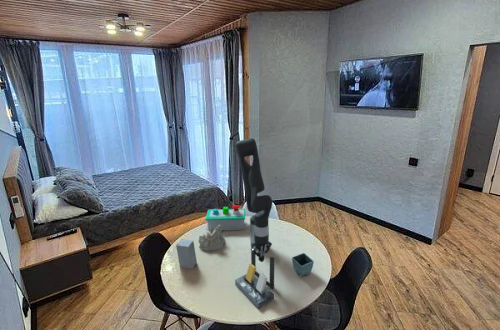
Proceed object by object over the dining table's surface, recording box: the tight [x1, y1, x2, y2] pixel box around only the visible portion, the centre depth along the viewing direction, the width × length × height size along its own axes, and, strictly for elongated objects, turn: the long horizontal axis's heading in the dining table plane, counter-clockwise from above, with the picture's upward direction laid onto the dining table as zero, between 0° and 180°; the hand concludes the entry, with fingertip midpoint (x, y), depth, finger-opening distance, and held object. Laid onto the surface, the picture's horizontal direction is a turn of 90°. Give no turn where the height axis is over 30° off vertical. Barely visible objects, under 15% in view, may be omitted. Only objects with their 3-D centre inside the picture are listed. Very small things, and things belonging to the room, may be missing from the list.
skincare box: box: [175, 238, 198, 270], centre depth 155 cm, size 8×7×16 cm
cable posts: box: [250, 243, 276, 290], centre depth 143 cm, size 2×18×18 cm, turn 36°
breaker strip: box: [234, 274, 275, 310], centre depth 136 cm, size 10×20×5 cm, turn 36°
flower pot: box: [291, 252, 315, 277], centre depth 148 cm, size 9×9×9 cm
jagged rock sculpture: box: [198, 225, 226, 251], centre depth 176 cm, size 16×16×15 cm
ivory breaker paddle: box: [256, 272, 268, 293], centre depth 132 cm, size 2×4×8 cm, turn 37°
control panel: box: [204, 204, 248, 231], centre depth 197 cm, size 15×16×30 cm
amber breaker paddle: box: [245, 263, 257, 282], centre depth 139 cm, size 2×4×8 cm, turn 37°
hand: (261, 260), depth 142 cm, fingers closed
